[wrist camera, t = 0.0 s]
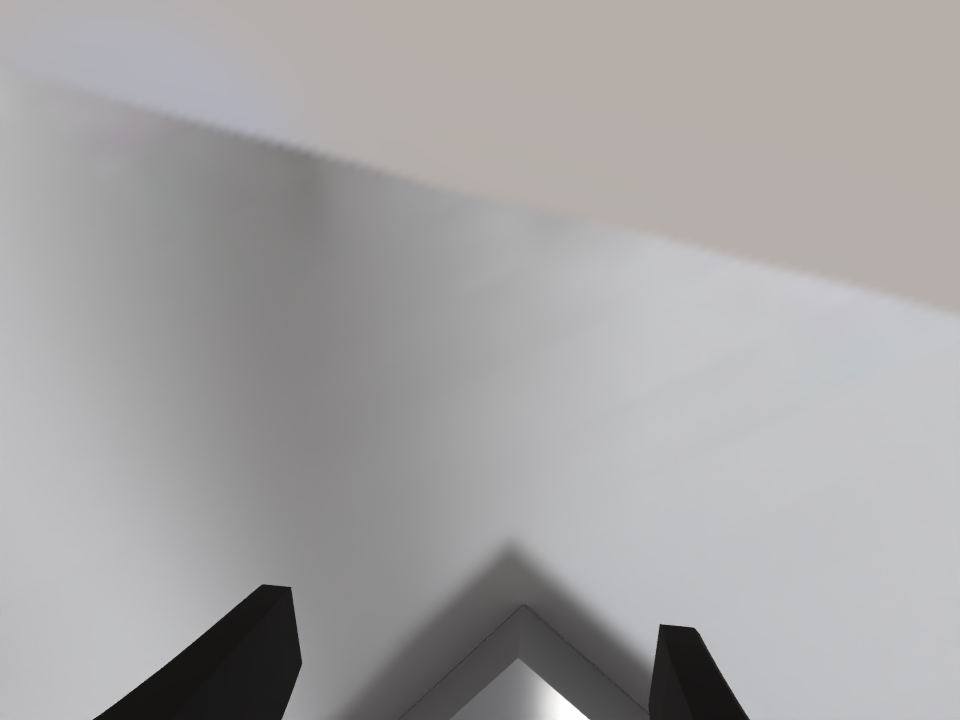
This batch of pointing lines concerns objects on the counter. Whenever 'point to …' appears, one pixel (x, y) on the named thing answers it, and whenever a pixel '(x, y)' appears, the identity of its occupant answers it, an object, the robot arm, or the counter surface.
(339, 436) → the counter surface
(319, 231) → the counter surface
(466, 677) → the slate base
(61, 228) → the counter surface
